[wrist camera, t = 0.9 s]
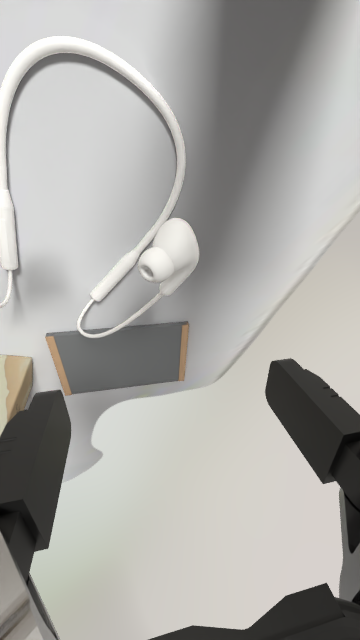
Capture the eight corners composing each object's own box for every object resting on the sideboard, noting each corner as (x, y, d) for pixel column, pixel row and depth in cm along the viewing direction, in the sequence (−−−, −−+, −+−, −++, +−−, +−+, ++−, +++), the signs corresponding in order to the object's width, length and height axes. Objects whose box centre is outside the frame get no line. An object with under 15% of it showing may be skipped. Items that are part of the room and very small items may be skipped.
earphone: (-55, 308, 20) (-271, 112, 5) (22, 158, 26) (20, -149, 11) (108, 351, 27) (219, 315, 11) (143, 222, 32) (250, 82, 17)
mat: (46, 333, 28) (45, 337, 28) (187, 321, 31) (188, 325, 31) (66, 391, 34) (65, 395, 34) (183, 376, 37) (184, 380, 37)
